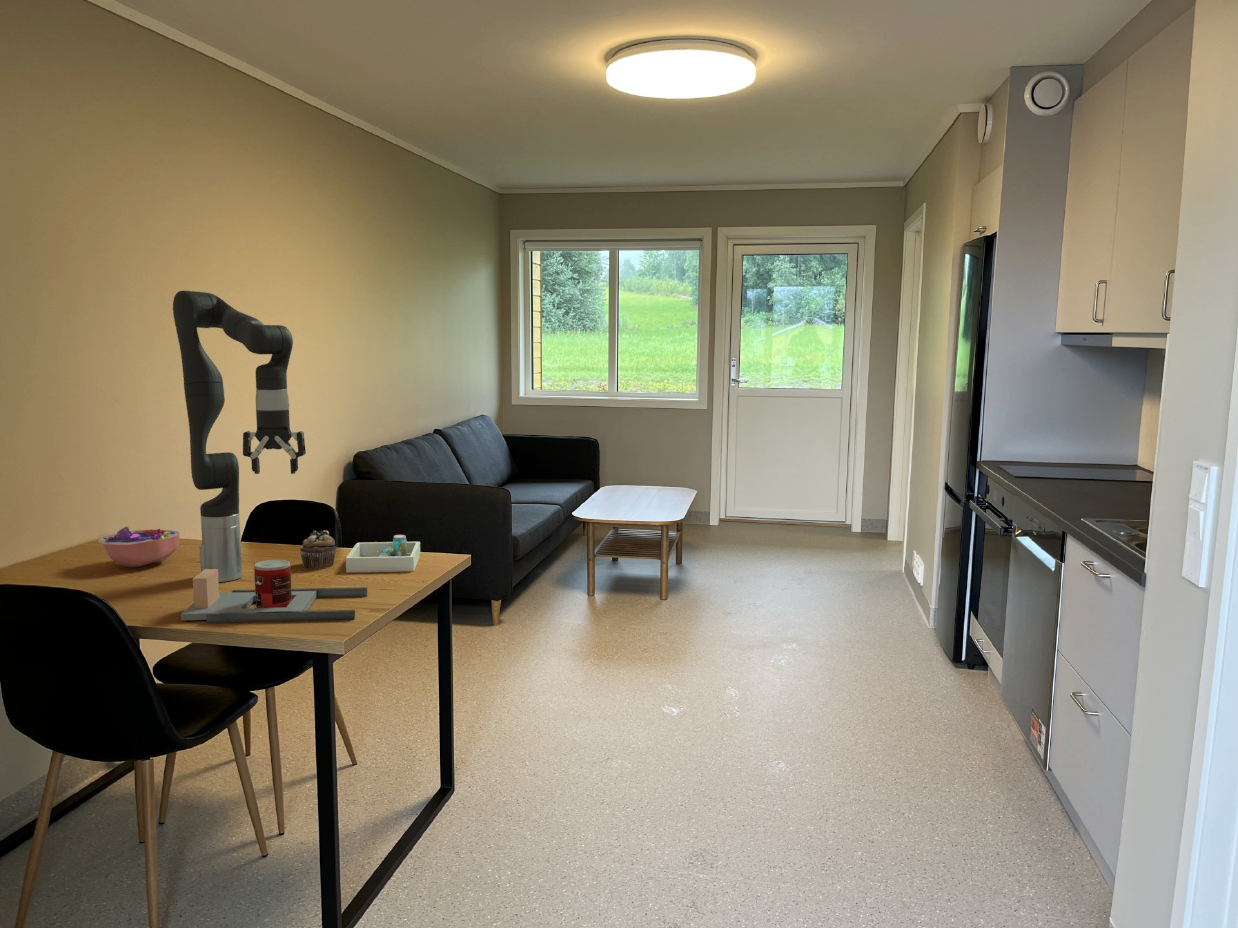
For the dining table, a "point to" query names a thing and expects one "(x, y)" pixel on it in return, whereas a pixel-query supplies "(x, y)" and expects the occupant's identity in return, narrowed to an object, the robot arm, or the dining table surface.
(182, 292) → the robot arm
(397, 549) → the beverage can
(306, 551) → the cupcake
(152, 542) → the cell model
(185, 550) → the dining table surface
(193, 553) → the dining table surface
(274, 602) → the canned food
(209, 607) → the grey piece
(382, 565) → the white shallow tray
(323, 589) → the guide rails
